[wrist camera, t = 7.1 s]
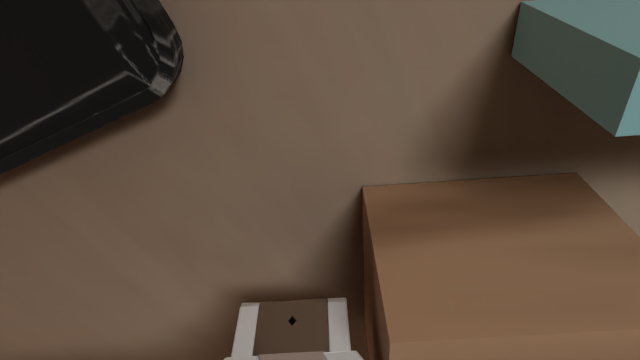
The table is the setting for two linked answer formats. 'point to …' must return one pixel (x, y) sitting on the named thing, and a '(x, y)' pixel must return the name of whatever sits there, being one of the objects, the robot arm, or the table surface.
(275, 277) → the table surface
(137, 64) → the phone
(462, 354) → the walnut block
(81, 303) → the table surface
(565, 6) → the box
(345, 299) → the robot arm
